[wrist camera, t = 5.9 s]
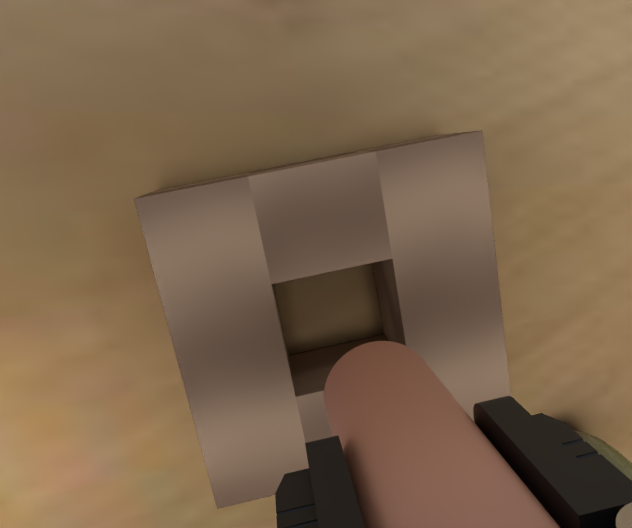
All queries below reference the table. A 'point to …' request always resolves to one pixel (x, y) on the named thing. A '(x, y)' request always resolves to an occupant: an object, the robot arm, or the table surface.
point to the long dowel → (419, 448)
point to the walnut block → (312, 259)
